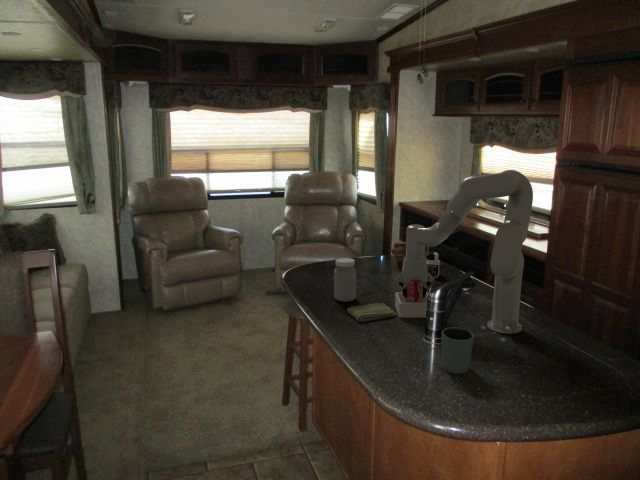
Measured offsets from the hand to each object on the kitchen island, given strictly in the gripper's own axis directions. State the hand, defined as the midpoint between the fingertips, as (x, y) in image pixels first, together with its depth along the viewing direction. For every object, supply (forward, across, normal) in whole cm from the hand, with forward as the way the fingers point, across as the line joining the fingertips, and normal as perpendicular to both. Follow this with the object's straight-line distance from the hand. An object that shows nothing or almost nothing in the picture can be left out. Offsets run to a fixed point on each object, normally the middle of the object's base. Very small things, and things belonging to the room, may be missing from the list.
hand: (414, 296), depth 221 cm
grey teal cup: (+7, -6, +51) cm, 52 cm away
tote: (+7, 0, 0) cm, 7 cm away
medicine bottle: (+7, -17, -51) cm, 54 cm away
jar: (+7, +28, -16) cm, 33 cm away
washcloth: (+7, +18, +3) cm, 20 cm away
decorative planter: (+7, -8, -70) cm, 71 cm away
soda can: (+4, 0, 0) cm, 4 cm away
